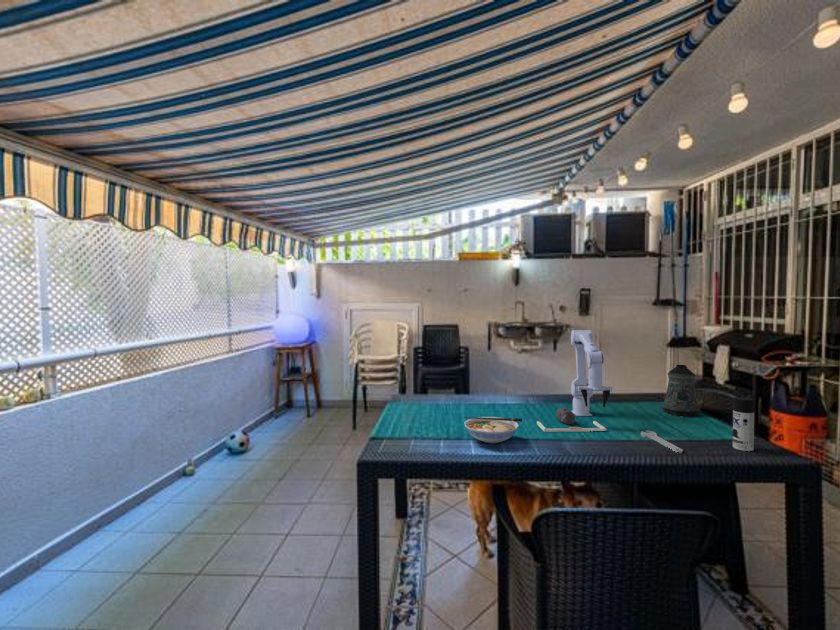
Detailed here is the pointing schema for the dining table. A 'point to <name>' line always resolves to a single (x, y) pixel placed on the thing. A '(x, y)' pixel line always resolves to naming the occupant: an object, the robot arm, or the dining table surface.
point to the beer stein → (681, 393)
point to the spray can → (743, 424)
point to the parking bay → (574, 428)
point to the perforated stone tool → (565, 416)
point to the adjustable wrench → (660, 440)
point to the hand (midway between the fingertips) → (595, 406)
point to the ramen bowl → (491, 428)
